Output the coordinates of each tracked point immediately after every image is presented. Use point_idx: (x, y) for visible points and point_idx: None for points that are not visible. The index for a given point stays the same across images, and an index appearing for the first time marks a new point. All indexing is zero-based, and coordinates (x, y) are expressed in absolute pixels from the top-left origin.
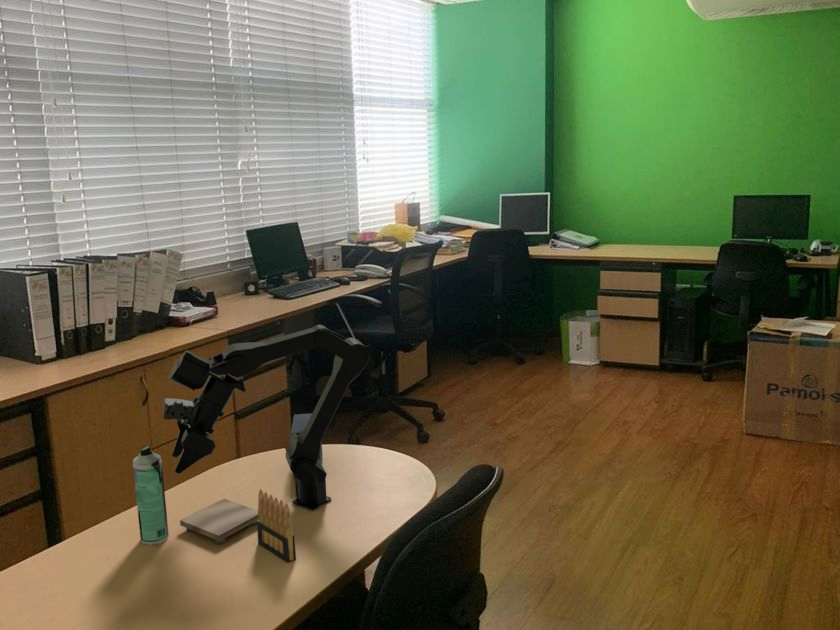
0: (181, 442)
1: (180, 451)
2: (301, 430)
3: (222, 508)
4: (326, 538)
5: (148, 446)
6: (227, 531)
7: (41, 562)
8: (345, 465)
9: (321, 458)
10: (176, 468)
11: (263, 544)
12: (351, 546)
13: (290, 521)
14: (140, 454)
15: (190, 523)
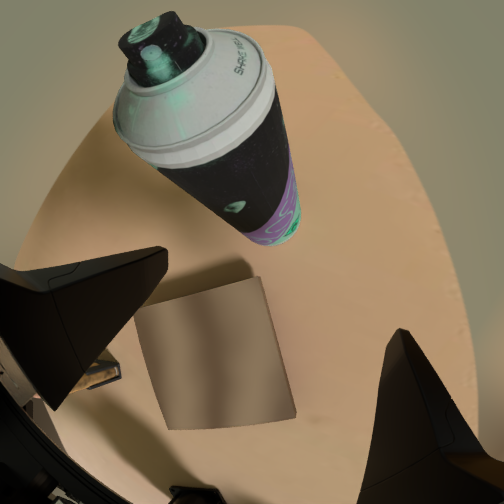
0: (403, 416)
1: (384, 380)
2: None
3: (244, 388)
4: (89, 430)
5: (142, 38)
6: (138, 333)
7: (313, 52)
8: None
9: None
10: (140, 249)
11: (101, 361)
12: (65, 427)
13: None
14: (201, 36)
15: (221, 289)
